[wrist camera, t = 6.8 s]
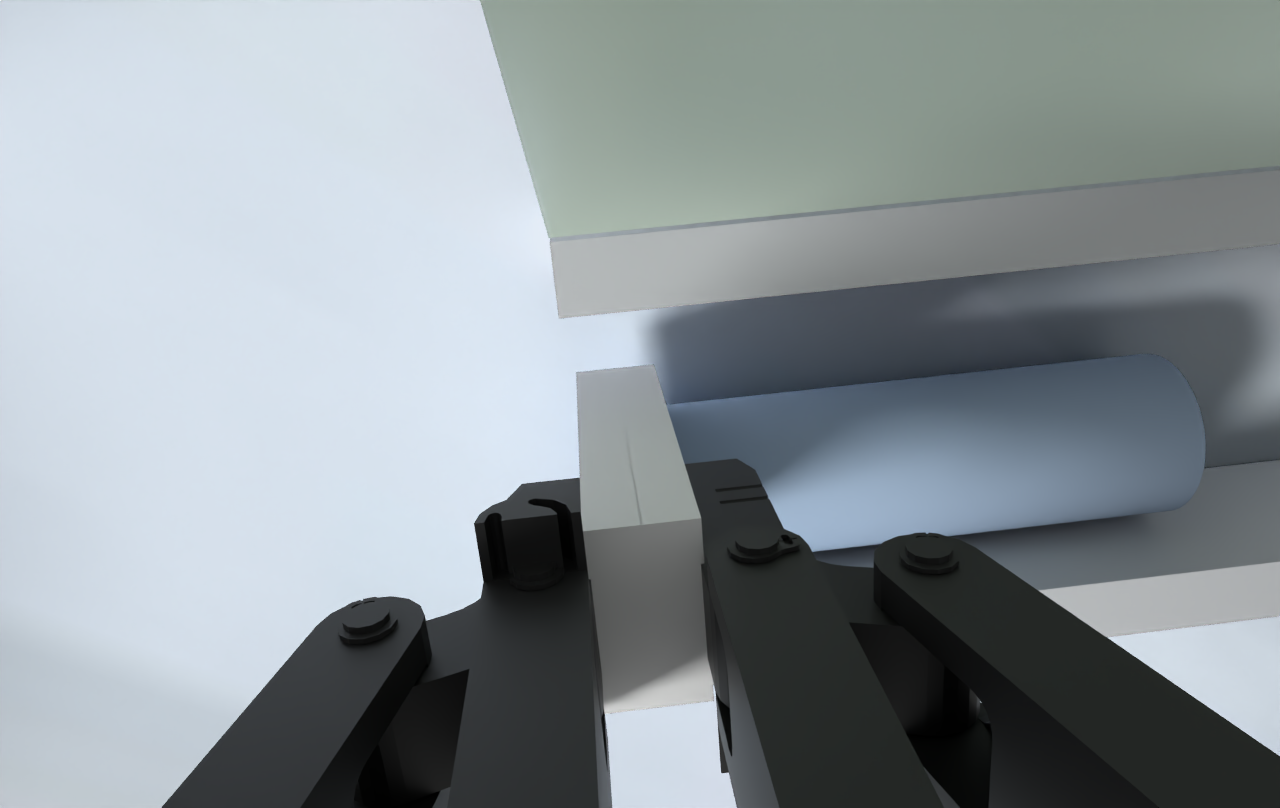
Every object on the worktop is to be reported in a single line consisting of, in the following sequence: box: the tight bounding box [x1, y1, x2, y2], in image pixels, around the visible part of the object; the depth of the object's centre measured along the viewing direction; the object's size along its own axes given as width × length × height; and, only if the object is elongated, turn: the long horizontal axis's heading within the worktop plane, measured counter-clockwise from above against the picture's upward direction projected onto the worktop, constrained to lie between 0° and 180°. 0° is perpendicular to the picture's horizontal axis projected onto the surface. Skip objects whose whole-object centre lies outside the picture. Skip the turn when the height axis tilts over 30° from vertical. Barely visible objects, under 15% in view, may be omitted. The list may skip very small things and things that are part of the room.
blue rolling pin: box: [666, 354, 1206, 552], centre depth 18 cm, size 10×3×3 cm
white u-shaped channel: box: [550, 166, 1280, 685], centre depth 18 cm, size 21×8×4 cm, turn 95°
